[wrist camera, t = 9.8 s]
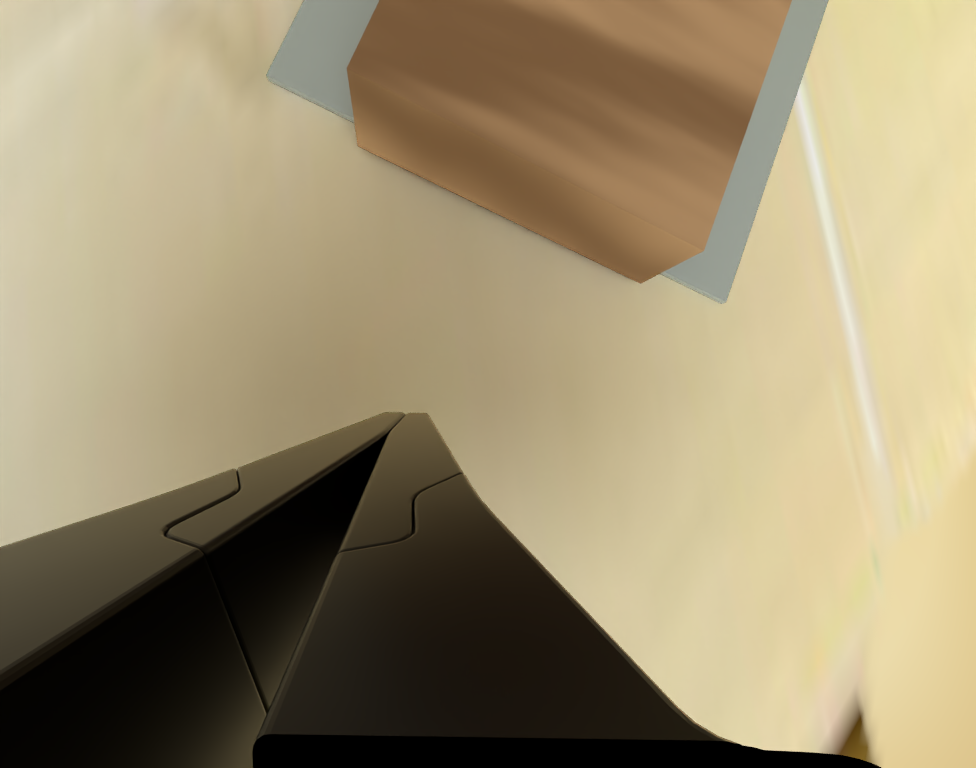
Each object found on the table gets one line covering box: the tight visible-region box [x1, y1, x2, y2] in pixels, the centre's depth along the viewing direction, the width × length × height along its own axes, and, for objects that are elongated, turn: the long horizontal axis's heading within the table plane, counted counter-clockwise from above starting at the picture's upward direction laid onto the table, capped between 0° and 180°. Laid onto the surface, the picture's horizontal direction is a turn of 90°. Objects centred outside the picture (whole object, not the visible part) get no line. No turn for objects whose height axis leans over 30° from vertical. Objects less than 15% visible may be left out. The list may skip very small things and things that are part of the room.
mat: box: [266, 0, 828, 304], centre depth 20 cm, size 16×20×1 cm
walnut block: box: [347, 0, 792, 283], centre depth 17 cm, size 4×12×10 cm
